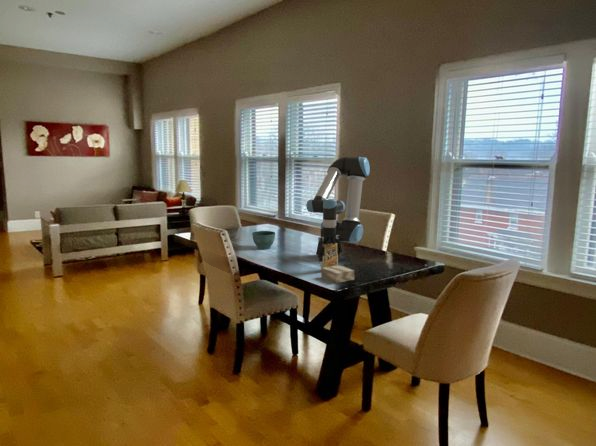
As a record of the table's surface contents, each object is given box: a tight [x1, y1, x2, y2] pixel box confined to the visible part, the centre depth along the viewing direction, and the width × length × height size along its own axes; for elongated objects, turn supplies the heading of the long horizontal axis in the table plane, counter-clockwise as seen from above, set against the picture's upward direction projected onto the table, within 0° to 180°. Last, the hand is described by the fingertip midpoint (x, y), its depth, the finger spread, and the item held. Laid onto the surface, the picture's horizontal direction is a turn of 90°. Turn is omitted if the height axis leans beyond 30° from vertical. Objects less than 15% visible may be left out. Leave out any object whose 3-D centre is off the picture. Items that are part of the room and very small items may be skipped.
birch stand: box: [320, 264, 356, 284], centre depth 230 cm, size 12×13×5 cm
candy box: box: [320, 243, 337, 269], centre depth 246 cm, size 9×4×15 cm, turn 125°
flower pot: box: [251, 230, 276, 250], centre depth 304 cm, size 16×16×11 cm
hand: (329, 265), depth 246 cm, fingers open, 9 cm apart
